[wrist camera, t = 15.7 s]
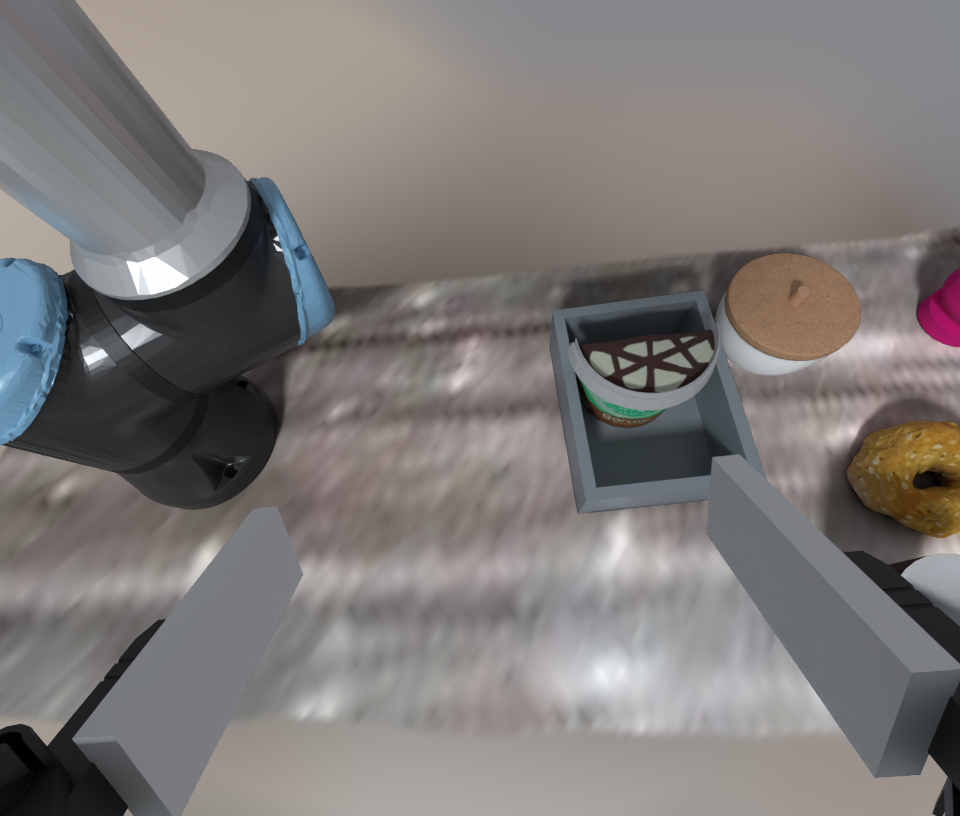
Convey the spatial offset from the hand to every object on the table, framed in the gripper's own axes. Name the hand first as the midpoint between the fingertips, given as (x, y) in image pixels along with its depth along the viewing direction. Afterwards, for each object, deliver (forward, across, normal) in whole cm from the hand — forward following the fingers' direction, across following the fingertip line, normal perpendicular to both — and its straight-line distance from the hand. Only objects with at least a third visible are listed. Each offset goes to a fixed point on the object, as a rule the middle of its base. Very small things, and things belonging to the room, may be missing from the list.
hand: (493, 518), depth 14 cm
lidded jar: (+34, +27, -8) cm, 44 cm away
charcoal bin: (+30, +13, -12) cm, 35 cm away
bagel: (+24, +36, -19) cm, 47 cm away
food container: (+30, +12, -11) cm, 34 cm away
